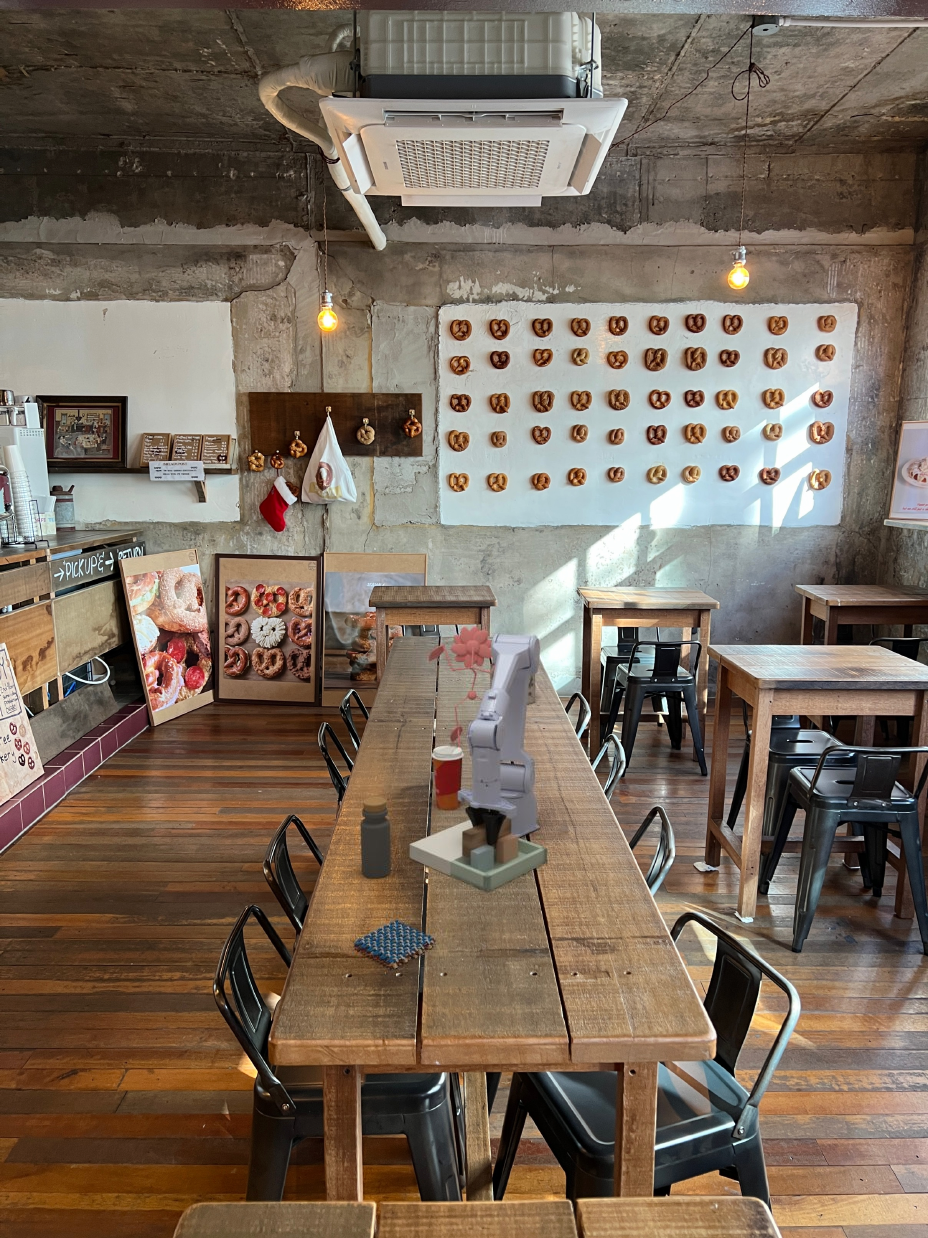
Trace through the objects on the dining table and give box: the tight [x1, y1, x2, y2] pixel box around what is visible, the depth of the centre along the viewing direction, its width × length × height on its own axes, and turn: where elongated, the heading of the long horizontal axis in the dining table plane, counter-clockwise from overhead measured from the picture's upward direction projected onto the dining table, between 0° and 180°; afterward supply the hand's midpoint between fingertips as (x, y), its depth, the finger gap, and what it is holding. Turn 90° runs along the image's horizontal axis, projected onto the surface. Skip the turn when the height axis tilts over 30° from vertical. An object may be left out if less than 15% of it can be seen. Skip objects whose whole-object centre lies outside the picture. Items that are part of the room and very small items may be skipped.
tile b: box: [471, 844, 494, 873], centre depth 173 cm, size 4×4×2 cm
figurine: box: [428, 626, 495, 748], centre depth 259 cm, size 15×26×35 cm, turn 94°
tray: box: [449, 837, 548, 893], centre depth 175 cm, size 18×10×3 cm, turn 136°
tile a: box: [496, 834, 518, 864], centre depth 178 cm, size 4×4×2 cm
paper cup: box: [431, 745, 465, 811], centre depth 209 cm, size 8×8×14 cm
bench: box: [409, 819, 496, 876], centre depth 183 cm, size 18×12×3 cm, turn 136°
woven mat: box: [353, 919, 436, 970], centre depth 147 cm, size 10×11×2 cm
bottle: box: [360, 796, 392, 879], centre depth 173 cm, size 6×6×15 cm
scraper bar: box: [462, 817, 511, 859], centre depth 177 cm, size 12×2×5 cm, turn 136°
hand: (486, 842), depth 177 cm, fingers closed on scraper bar, 2 cm apart
